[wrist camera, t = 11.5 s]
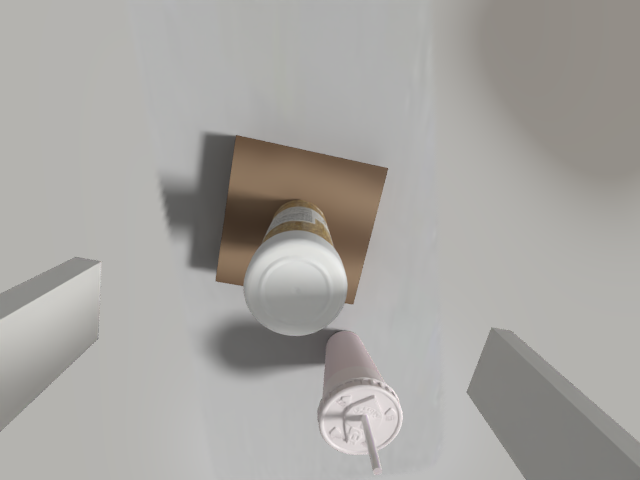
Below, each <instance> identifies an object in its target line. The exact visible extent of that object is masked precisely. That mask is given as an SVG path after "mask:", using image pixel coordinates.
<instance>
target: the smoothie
mask: <svg viewBox="0 0 640 480" xmlns="http://www.w3.org/2000/svg"><path fill="white" fill-rule="evenodd" d="M402 421H403V413H402V409H401V406H400V403H399V399H398V396H397V395H396V393H395V392H394V390H393V389H392V388H391V387H390V386H388V385H387V384H386V383H385V381H384V379H383V378H382V376H381V374H380V372H379V371H378V369H377V367H376V365H375V364H374V362H373V360H372V358H371V357H370V355H369V353H368V351H367V350H366V348H365V346H364V344H363V343H362V341H361V339H360V338H359V336H358V335H356V334H355V333H353V332H350V331H340V332H337V333H335V334H334V335H332V336H331V337H330V338H329V340H328V342H327V345H326V357H325V370H324V384H323V397H322V399H321V401H320V404H319V407H318V422H319V429H320V433H321V435H322V437H323V439H324V440H325V441H326V443H327V444H328V445H330V446H331V447H332V448H334V449H335V450H337V451H340V452H342V453H345V454H351V455H363V454H369V456H370V460H371V464H372V469H373V473H374V474H375V475H379V474H381V473H382V468H381V464H380V460H379V456H378V452H377V451H378V450H380V449H382V448H384V447H385V446H387V445H388V444H389V443H390V442H391V441H392V440H393V439H394V438H395V437H396V436H397V434H398V432H399V431H400V428H401V425H402Z"/></svg>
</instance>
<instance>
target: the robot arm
mask: <svg viewBox="0 0 640 480" xmlns="http://www.w3.org/2000/svg"><path fill="white" fill-rule="evenodd" d="M101 263H102V262H101V261H96V260H90V259H84V258H79V257H75V258H72V259H70V260H68V261H66V262H64V263H62V264H60V265H58V266H56V267H54V268H52V269H50V270H48V271H46V272H44V273H42V274H40V275H38V276H36V277H34V278H31V279H30V280H27V281H25V282H23V283H21V284H20V285H17V286H15V287H13V288H11V289H9V290H7V291H5V292H3V293H1V294H0V432H1V431H2V430H3V429H4V428H5V427H6V426H7V425H8V424H9V423H10V422H11V421H12V420H13V419H14V418H15V417H16V416H17V415H18V414H19V413H21V412H22V411H23V409H25V408H26V407H27V406H28V405H29V404H30V403H31V402H32V401H33V400H34V399H35V398H36V397H37V396H38V395H39V394H40V393H42V392H43V390H45V389H46V388H47V387H48V386H49V385H50V384H51V383H52V382H53V381H54V380H55V379H56V378H57V377H59V376H60V374H61V373H63V372H64V371H65V370H66V369H67V368H68V367H69V366H70V365H71V364H72V363H73V362H74V361H75V360H76V359H77V358H78V357H80V356H81V355H82V354H83V353H84V352H85V351H86V350H87V349H88V348H89V347H90V346H91V345H92V344H93V343H94V342H95V341H96V340H97V339H98V332H99V309H100V285H101ZM467 393H468V395H469V396H470V398H471V399H472V401H473V402H474V404H475V405H476V407H477V408H478V410H479V411H480V413H481V414H482V416H483V417H484V419H485V420H486V422H487V423H488V425H489V426H490V427H491V429H492V430H493V432H494V433H495V435H496V436H497V438H498V439H499V441H500V442H501V444H502V445H503V447H504V448H505V449H506V451H507V452H508V454H509V455H510V457H511V458H512V460H513V461H514V463H515V464H516V466H517V467H518V469H519V470H520V472H521V473H522V474H523V476H524V478H525V479H526V480H640V443H639V442H638V441H637V440H636V439H635V438H634V437H633V436H631V435H630V434H629V433H628V432H627V431H626V430H625V429H623V428H622V427H621V426H620V425H619V424H618V423H616V422H615V421H614V420H613V419H612V418H611V417H610V416H608V415H607V414H606V413H605V412H604V411H602V410H601V409H600V408H599V407H598V406H597V405H596V404H595V403H594V402H592V401H591V400H590V399H589V398H588V397H586V396H585V395H584V394H583V393H582V392H581V391H580V390H579V389H577V388H576V387H575V386H574V385H573V384H572V383H571V382H569V381H568V380H567V379H566V378H565V377H564V376H562V375H561V374H560V373H559V372H558V371H557V370H556V369H555V368H553V367H552V366H551V365H550V364H549V363H548V362H546V361H545V360H544V359H543V358H542V357H541V356H539V355H538V354H537V353H536V352H535V351H534V350H533V349H531V348H530V347H529V346H528V345H527V344H526V343H525V342H523V341H522V340H521V339H520V338H519V337H518V336H517V335H516V334H514V333H513V332H512V331H509V330H503V329H498V328H491V330H490V333H489V335H488V338H487V341H486V343H485V346H484V348H483V351H482V353H481V356H480V359H479V361H478V364H477V367H476V369H475V372H474V374H473V377H472V380H471V382H470V385H469V387H468V390H467Z"/></svg>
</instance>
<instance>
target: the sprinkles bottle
mask: <svg viewBox="0 0 640 480" xmlns="http://www.w3.org/2000/svg"><path fill="white" fill-rule="evenodd" d="M347 286H348V285H347V277H346V273H345V269H344V267H343V264H342V261H341V258H340V256H339V254H338V253H337V251H336V250H335V248H334V247H333V242H332V239H331V235H330V232H329V229H328V226H327V222H326V219H325V216H324V214H323V212H322V211H321V210H320V209H319V208H318V207H317V206H316V205H314V204H312V203H310V202H307V201H304V200H293V201H290V202H287V203H286V204H284V205H282V206H281V207H280V208H279V209H278V210H277V212H276V213H275V215H274V217H273V220H272V222H271V224H270V226H269V228H268V230H267V233H266V235H265V237H264V239H263V241H262V244H261V246H260V247H259V248H258V249H257V250H256V252H255V253H254V255H253V257H252V259H251V261H250V263H249V265H248V268H247V271H246V274H245V278H244V296H245V300H246V304H247V306H248V308H249V310H250V312H251V313H252V315H253V316H254V317H255V318H256V320H258V322H260V323H261V324H262V325H263V326H265V327H266V328H268V329H270V330H271V331H273V332H276V333H279V334H283V335H288V336H302V335H308V334H311V333H315V332H317V331H319V330H321V329H323V328H325V327H326V326H327V325H329V324H330V323H331V322H332V321H333V320H334V319H335V318H336V317H337V316H338V314H339V313H340V311H341V309H342V308H343V305H344V303H345V300H346V296H347Z"/></svg>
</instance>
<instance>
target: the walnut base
mask: <svg viewBox="0 0 640 480" xmlns="http://www.w3.org/2000/svg"><path fill="white" fill-rule="evenodd" d="M387 171H388V168H384V167H380V166H375V165H371V164H366V163H361V162H357V161H352V160H348V159H343V158H339V157H334V156H329V155H325V154H320V153H316V152H311V151H306V150H302V149H297V148H293V147H288V146H284V145H279V144H274V143H270V142H265V141H261V140H256V139H252V138H247V137H242V136H238V135H236V139H235V146H234V154H233V161H232V168H231V175H230V182H229V189H228V196H227V203H226V210H225V217H224V224H223V231H222V239H221V246H220V253H219V260H218V267H217V274H216V281H217V282H223V283H229V284H235V285H241V286H244V278H245V274H246V271H247V268H248V265H249V263H250V261H251V259H252V257H253V255H254V253H255V252H256V250H257V249H258V248H259V247H260V246H261V244H262V241H263V239H264V237H265V235H266V233H267V230H268V228H269V226H270V224H271V222H272V220H273V217H274V215H275V213H276V212H277V210H278V209H279V208H280V207H281V206H282V205H284V204H286V203H287V202H290V201H293V200H304V201H307V202H310V203H312V204H314V205H316V206H317V207H318V208H319V209H320V210H321V211H322V212H323V214H324V216H325V219H326V222H327V226H328V229H329V232H330V235H331V239H332V242H333V247H334V248H335V250H336V251H337V253H338V254H339V256H340V258H341V261H342V264H343V267H344V269H345V273H346V277H347V285H348V286H347V296H346V300H345V303H348V304H353V303H354V299H355V295H356V291H357V288H358V284H359V280H360V276H361V272H362V268H363V264H364V260H365V256H366V253H367V249H368V245H369V241H370V237H371V233H372V229H373V225H374V221H375V218H376V214H377V210H378V206H379V202H380V198H381V194H382V190H383V186H384V183H385V179H386V175H387Z"/></svg>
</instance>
